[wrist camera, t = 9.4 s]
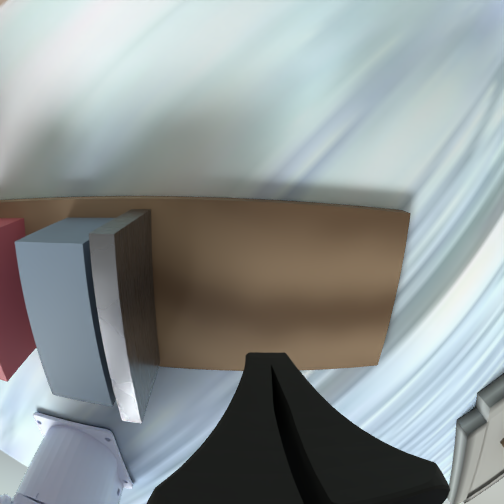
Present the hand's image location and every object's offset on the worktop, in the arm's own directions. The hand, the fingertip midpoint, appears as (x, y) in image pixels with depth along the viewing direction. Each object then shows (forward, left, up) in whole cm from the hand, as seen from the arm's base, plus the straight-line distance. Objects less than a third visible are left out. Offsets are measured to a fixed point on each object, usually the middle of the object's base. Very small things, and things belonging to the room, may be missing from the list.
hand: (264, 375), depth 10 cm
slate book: (0, +9, -7) cm, 11 cm away
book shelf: (0, +7, -8) cm, 10 cm away
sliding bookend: (0, +6, -7) cm, 9 cm away
